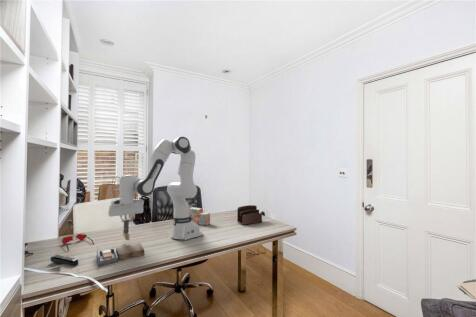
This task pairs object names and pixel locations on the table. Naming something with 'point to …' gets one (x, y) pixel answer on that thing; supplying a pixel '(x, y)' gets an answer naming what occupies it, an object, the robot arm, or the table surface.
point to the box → (106, 261)
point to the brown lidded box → (248, 215)
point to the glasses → (79, 236)
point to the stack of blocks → (199, 216)
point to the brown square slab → (129, 251)
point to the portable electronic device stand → (64, 260)
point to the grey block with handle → (126, 229)
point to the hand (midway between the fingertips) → (126, 221)
